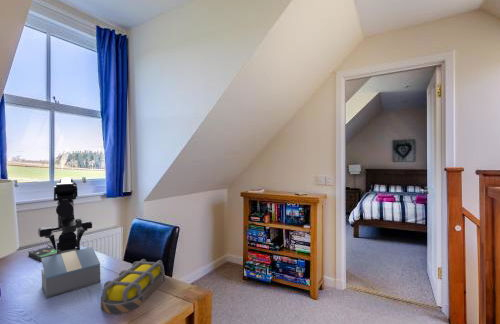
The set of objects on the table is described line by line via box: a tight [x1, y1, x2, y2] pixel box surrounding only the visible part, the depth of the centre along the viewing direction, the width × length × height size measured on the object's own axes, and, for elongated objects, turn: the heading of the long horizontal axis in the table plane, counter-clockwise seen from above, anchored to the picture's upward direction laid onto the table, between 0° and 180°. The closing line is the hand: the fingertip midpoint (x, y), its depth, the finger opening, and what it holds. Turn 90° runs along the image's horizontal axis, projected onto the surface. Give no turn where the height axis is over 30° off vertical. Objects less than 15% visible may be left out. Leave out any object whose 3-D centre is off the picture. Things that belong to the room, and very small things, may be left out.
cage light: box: [100, 258, 166, 315], centre depth 104 cm, size 15×8×30 cm
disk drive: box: [28, 245, 57, 263], centre depth 140 cm, size 10×3×15 cm
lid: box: [41, 246, 101, 280], centre depth 108 cm, size 13×18×1 cm
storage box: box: [41, 265, 101, 299], centre depth 109 cm, size 13×18×7 cm
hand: (66, 247), depth 115 cm, fingers open, 8 cm apart
